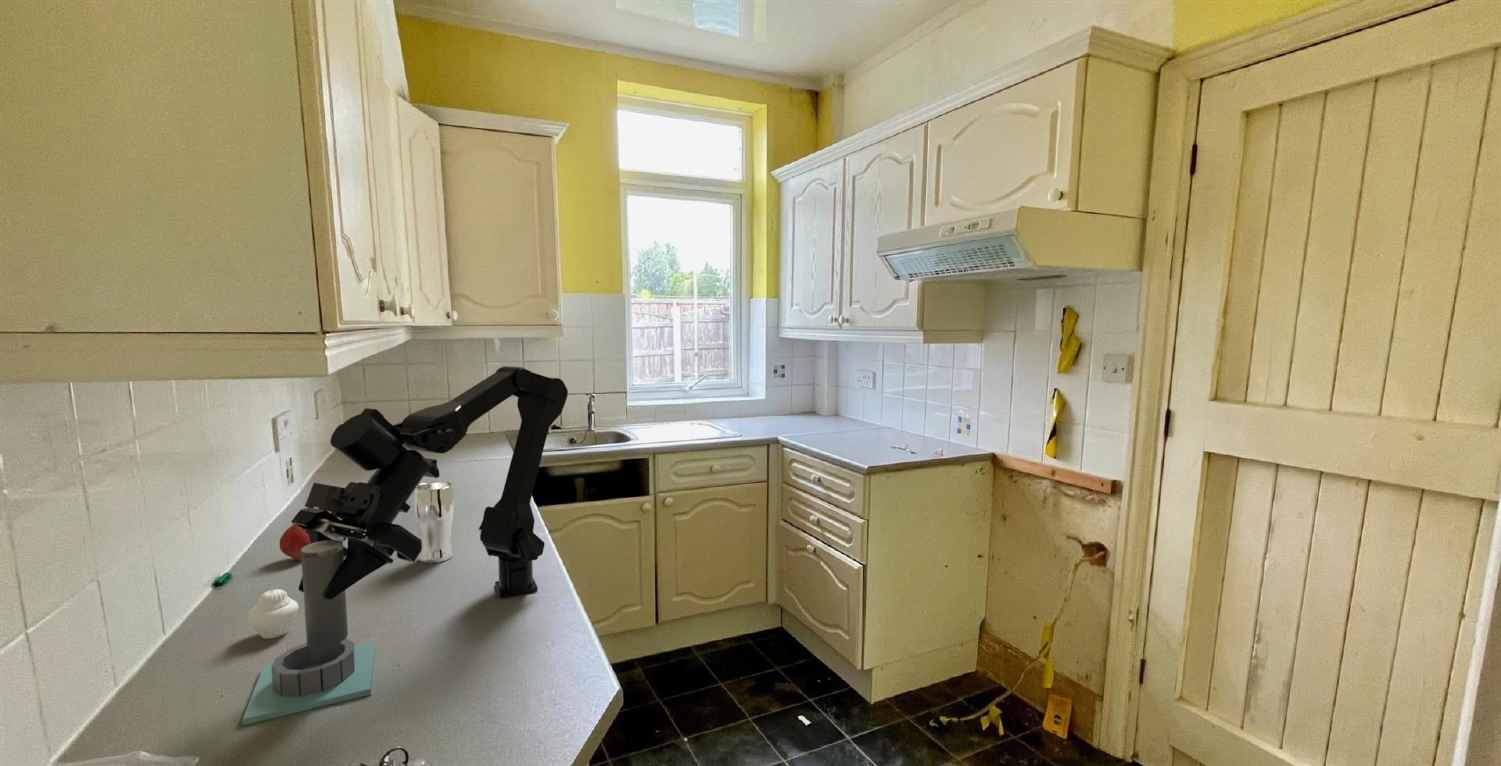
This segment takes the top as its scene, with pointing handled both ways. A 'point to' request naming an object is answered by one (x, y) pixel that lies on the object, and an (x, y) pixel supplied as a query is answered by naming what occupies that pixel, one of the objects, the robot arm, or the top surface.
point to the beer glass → (434, 520)
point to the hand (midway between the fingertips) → (313, 594)
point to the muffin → (273, 614)
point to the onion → (294, 542)
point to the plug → (321, 613)
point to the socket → (311, 680)
